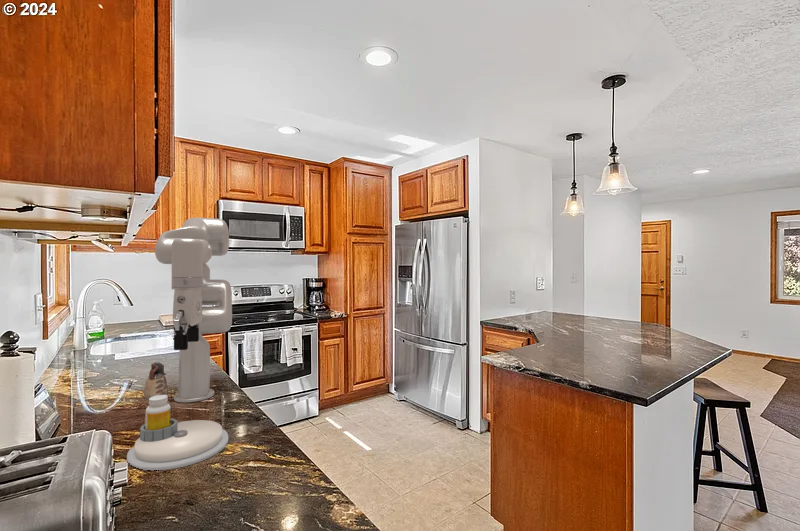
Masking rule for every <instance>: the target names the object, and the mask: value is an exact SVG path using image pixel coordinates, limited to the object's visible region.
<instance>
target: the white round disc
mask: <svg viewBox="0 0 800 531" xmlns="http://www.w3.org/2000/svg"><path fill="white" fill-rule="evenodd" d="M222 429H223V427H222V425H221V424H220V423H219V422H216V421H213V420H205V419H195V420H183V421H179V420H177V419H175V418H170V426H169V427H166V428H163V429H158V430H146V429H145V423H144V424H142V425H141V426H140V428H139V438H137V439H136V440H135V443H134V445H135V456H136V457H137V458H139V459H141V460H144V461H149V462H166V461H174V460H179V459H184V458H188V457H191V456H194V455H197V454H200V453H203V452H205V451H207V450H209V449H211V448H212V447H214V446H215V445H217V444H218V443H219V442H220V440H221V439H222Z"/></svg>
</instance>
